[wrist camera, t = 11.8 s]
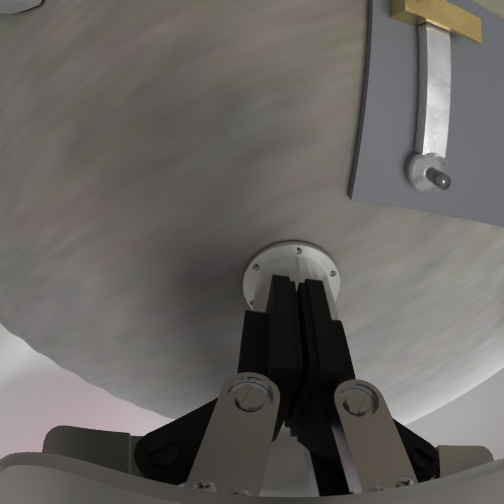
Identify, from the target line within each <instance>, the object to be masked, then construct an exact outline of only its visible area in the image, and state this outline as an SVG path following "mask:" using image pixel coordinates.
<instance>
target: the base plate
mask: <svg viewBox="0 0 504 504" xmlns="http://www.w3.org/2000/svg"><path fill="white" fill-rule="evenodd" d="M446 1H447V2H449V3H451V4H453V5H455V6H457V7H459V8H461V9H463V10H465V11H467V12H469V13H471V14H473V15H475V16H476V17H478V18H480V19H481V44H475V43H473V42H471V41H469V40H467V39H465V38H463V37H461V36H459V35H457V34H455V33H453V32H451V31H449V32H450V51H451V92H450V112H449V126H448V136H447V146H446V154H445V158H444V159H445V160H446V162H447V165H448V168H449V177H450V178H451V185H450V187H449V188H448V189H447V190H441V191H440V192H439V193H437V194H435V195H425V194H423V193H421V192H420V191H418V190H417V189H416V188H414V187H413V186H412V185H411V184H410V183H409V182H408V180H407V177H406V172H405V169H406V163H407V161H408V159H409V157H410V156H411V154H412V153H414V152H415V142H416V130H417V117H418V99H419V37H418V25H416V26H414V25H411V24H408V23H405V22H402V21H399V20H396V19H392V18H390V0H369V15H368V37H367V53H366V66H365V78H364V88H363V98H362V107H361V115H360V123H359V131H358V138H357V145H356V152H355V158H354V165H353V171H352V177H351V183H350V189H349V194H348V196H349V198H350V199H351V200H353V201H361V202H368V203H375V204H382V205H389V206H395V207H402V208H408V209H414V210H420V211H426V212H431V213H437V214H443V215H448V216H453V217H458V218H463V219H468V220H473V221H478V222H483V223H488V224H492V225H497V226H501V227H504V20H503V19H501V18H500V17H498V16H497V15H495V14H493V13H492V12H490V11H488V10H487V9H485V8H483V7H482V6H480V5H478V4H476V3H475V2H473V1H471V0H446Z"/></svg>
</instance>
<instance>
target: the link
mask: <svg viewBox="0 0 504 504" xmlns="http://www.w3.org/2000/svg"><path fill="white" fill-rule="evenodd" d="M444 1H446V0H444ZM418 37H419V99H418V117H417V130H416V142H415V152H414V153H412V154H411V156H410V157H409V159H408V161H407V163H406V169H405V172H406V177H407V180H408V182H409V183H410V184H411V185H412V186H413V187H414V188H416V189H417V190H418V191H420V192H421V193H423V194H425V195H435V194H437V193H439V192H440V191H441V190H447V189H448V188H449V187H450V185H451V178H450V177H449V168H448V165H447V162H446V160H445V159H444V158H445V154H446V146H447V136H448V126H449V112H450V92H451V51H450V32H449V31H448V30H446V29H444V28H441V27H439V26H437V25H434V24H432V23H429V22H424V23H421V24H419V25H418Z"/></svg>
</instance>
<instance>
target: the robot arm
mask: <svg viewBox="0 0 504 504" xmlns="http://www.w3.org/2000/svg"><path fill="white" fill-rule="evenodd" d="M297 248H299V249H297ZM255 264H258V265H255ZM340 287H341V279H340V274H339V270H338V268H337V266H336V263H335V262H334V260H333V259H332V258H331V256H330V255H329V254H328V253H326V252H325V251H324V250H323V249H321V248H319V247H317V246H315V245H312V244H309V243H306V242H299V241H288V242H282V243H277V244H274V245H272V246H269V247H267V248H266V249H264V250H262V251H261V252H259V253H258V254H257V255H256V256H255V257H254V258H253V259H252V260H251V262H250V263H249V265H248V266H247V269H246V271H245V273H244V279H243V293H244V297H245V299H246V302H247V304H248V305H249V306H250V308H251V309H252V310H253V311H250V310H246V311H245V317H244V325H243V332H242V339H241V347H240V355H239V363H238V371H237V374H236V375H234V376H232V377H230V378H229V379H228V380H226V382H225V383H224V385H223V387H222V389H221V392H220V395H219V397H218V398H216V399H214V400H212V401H211V402H209V403H207V404H205V405H203V406H201V407H200V408H198V409H196V410H194V411H192V412H190V413H188V414H186V415H184V416H182V417H180V418H178V419H176V420H175V421H173V422H171V423H169V424H166V425H164V426H162V427H160V428H158V429H156V430H154V431H152V432H150V433H148V434H146V435H145V436H131V435H130V433H123V432H112V431H103V430H94V429H86V428H80V427H72V426H57V427H55V428H53V429H51V430H50V431H49V432H48V433H47V435H46V437H45V440H44V444H43V450H42V453H41V452H40V453H39V452H21V453H14V454H9V455H7V456H5V457H4V458H2V459H1V460H0V504H504V458H503V459H498V460H495V461H494V459H493V456H492V454H491V452H490V451H489V449H487V448H486V447H483V446H448V445H447V446H446V445H438V446H437V447H436V448H434V447H433V446H432V445H431V444H430V443H429V442H427V441H426V440H424V439H423V438H421V437H420V436H418V435H417V434H415V433H413V432H412V431H411V430H409V429H408V428H406V427H405V426H403V425H402V424H400V423H399V422H397V421H396V420H394V419H393V418H392V416H391V414H390V412H389V409H388V407H387V405H386V402H385V400H384V398H383V396H382V394H381V393H380V391H379V390H378V389H377V388H376V387H375V386H374V385H372V384H370V383H369V382H367V381H363V380H356V378H355V374H354V369H353V365H352V361H351V357H350V352H349V348H348V344H347V340H346V336H345V332H344V328H343V325H342V322H341V321H340V320H339V317H338V313H337V309H336V306H335V301H336V300H337V297H338V295H339V292H340Z"/></svg>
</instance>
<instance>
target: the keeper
mask: <svg viewBox="0 0 504 504" xmlns="http://www.w3.org/2000/svg"><path fill="white" fill-rule="evenodd" d="M390 18H392V19H396V20H399V21H402V22H405V23H408V24H411V25H414V26H416V25H419V24H421V23H424V22H429V23H432V24H434V25H437V26H439V27H441V28H444V29H446V30H448V31H451V32H453V33H455V34H457V35H459V36H461V37H463V38H465V39H467V40H469V41H471V42H473V43H475V44H481V19H480V18H478V17H476V16H475V15H473V14H471V13H469V12H467V11H465V10H463V9H461V8H459V7H457V6H455V5H453V4H451V3H449V2H447V1H444V0H390Z"/></svg>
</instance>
